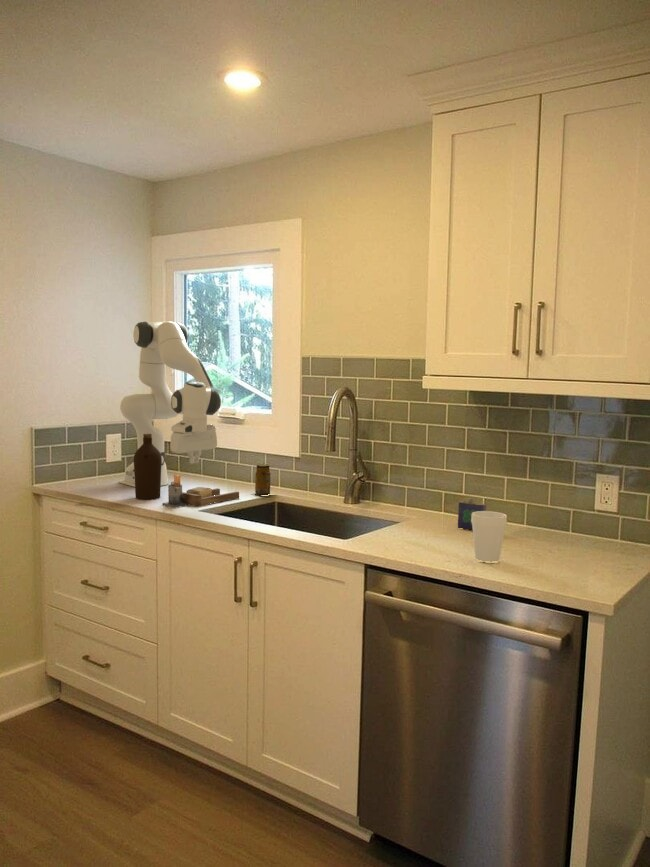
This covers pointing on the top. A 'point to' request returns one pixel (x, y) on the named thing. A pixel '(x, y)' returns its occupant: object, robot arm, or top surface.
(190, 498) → the bay
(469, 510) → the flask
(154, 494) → the olive oil
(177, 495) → the grey cylinder
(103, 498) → the top surface
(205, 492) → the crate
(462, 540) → the top surface
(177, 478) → the crank
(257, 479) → the condiment
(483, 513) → the foam cup
